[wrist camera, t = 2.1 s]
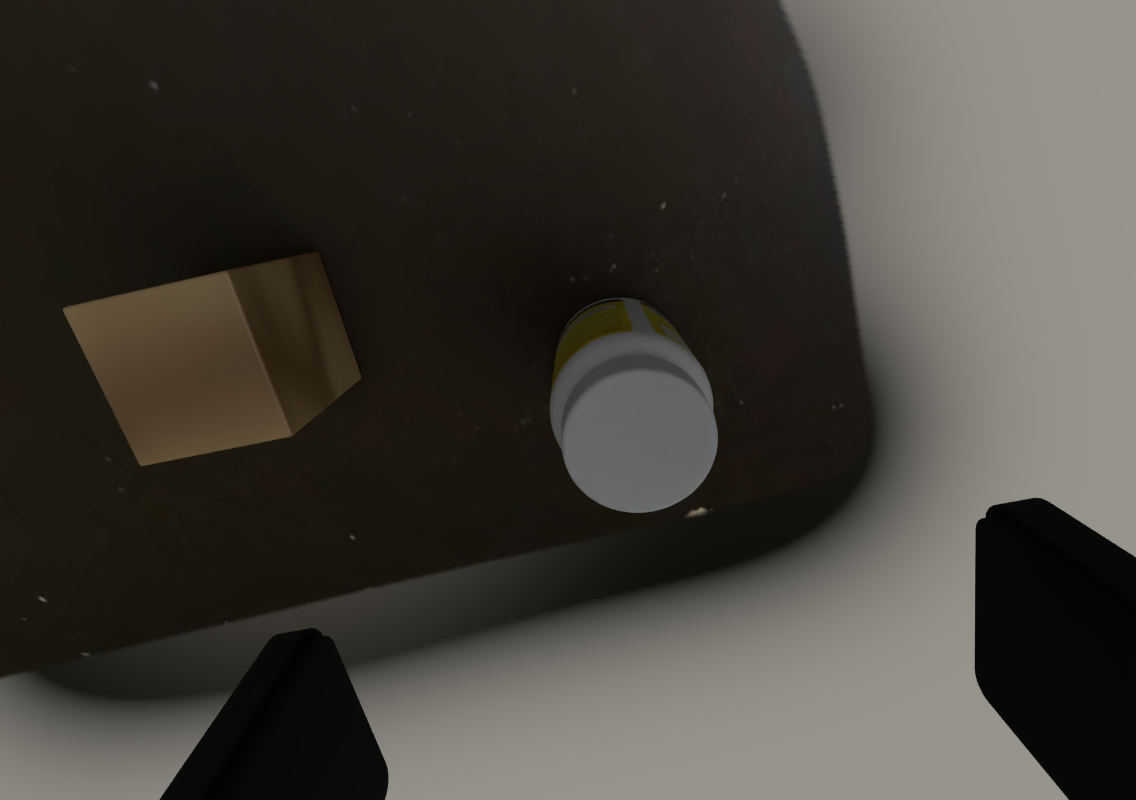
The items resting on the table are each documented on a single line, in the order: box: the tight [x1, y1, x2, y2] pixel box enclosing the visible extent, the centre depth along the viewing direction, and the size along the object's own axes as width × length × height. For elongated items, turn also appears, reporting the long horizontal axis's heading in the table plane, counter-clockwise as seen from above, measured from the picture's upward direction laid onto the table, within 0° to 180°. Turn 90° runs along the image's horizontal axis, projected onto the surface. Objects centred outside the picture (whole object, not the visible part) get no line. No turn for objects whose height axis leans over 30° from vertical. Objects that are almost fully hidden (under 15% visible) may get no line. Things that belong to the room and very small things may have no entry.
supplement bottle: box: [550, 298, 718, 513], centre depth 19 cm, size 5×5×8 cm
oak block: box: [63, 251, 361, 466], centre depth 20 cm, size 5×5×6 cm
